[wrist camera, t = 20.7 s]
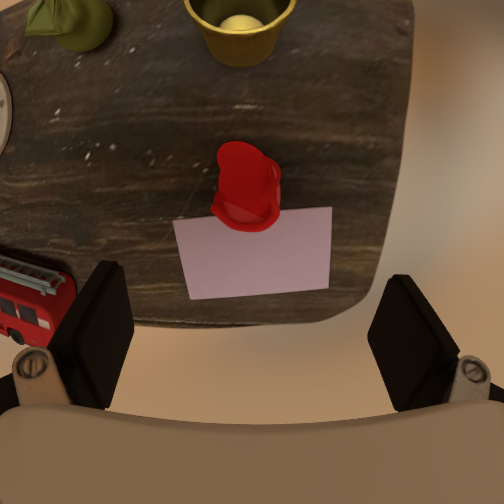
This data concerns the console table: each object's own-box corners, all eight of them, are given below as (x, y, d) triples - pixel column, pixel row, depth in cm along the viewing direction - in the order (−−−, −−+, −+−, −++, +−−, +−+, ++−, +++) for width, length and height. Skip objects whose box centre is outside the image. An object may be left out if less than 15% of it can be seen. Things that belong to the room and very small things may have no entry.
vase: (284, 59, 23) (324, 31, 11) (216, 76, 24) (190, 62, 12) (265, 1, 20) (286, -70, 8) (198, 18, 21) (158, -41, 9)
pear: (128, 5, 20) (80, -24, 11) (114, 54, 22) (59, 45, 13) (80, 6, 19) (21, -14, 10) (67, 53, 21) (3, 50, 12)
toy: (-26, 285, 34) (-37, 230, 30) (83, 322, 38) (78, 262, 33) (-52, 314, 27) (-70, 256, 23) (61, 364, 30) (48, 302, 26)
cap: (217, 247, 28) (215, 199, 31) (283, 240, 28) (273, 193, 31) (203, 182, 21) (204, 135, 25) (288, 174, 21) (275, 128, 25)
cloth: (190, 298, 36) (190, 299, 35) (173, 219, 31) (172, 220, 30) (327, 286, 35) (328, 288, 35) (331, 206, 30) (332, 207, 30)
